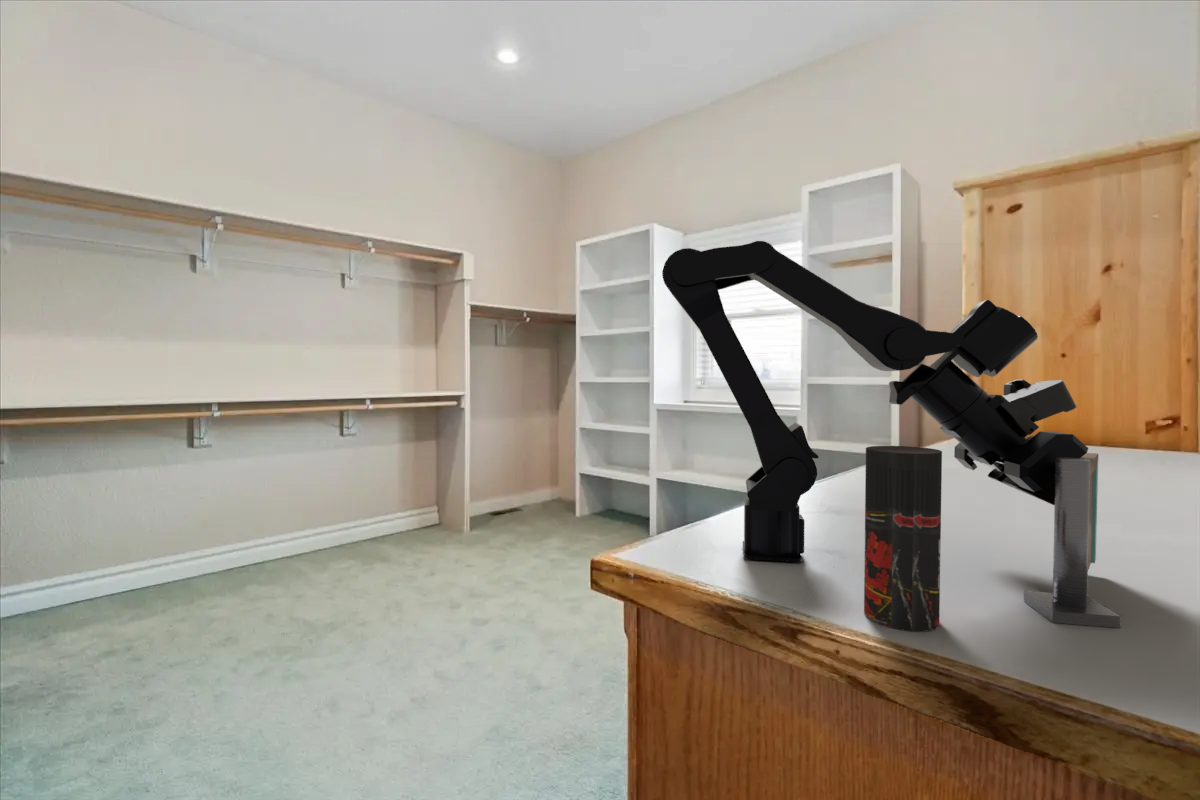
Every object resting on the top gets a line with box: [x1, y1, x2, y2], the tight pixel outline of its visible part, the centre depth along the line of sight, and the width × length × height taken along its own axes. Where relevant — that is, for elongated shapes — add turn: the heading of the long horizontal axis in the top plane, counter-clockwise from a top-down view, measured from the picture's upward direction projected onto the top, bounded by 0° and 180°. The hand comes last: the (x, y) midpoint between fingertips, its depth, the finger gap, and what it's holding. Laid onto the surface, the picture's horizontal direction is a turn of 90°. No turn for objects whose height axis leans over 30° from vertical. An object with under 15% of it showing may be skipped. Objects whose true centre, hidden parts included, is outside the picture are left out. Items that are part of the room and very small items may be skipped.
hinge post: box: [1023, 457, 1121, 629], centre depth 52 cm, size 5×5×14 cm
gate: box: [1081, 452, 1099, 571], centre depth 58 cm, size 2×14×12 cm, turn 136°
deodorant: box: [863, 445, 943, 633], centre depth 51 cm, size 6×6×15 cm
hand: (1072, 508), depth 62 cm, fingers closed
